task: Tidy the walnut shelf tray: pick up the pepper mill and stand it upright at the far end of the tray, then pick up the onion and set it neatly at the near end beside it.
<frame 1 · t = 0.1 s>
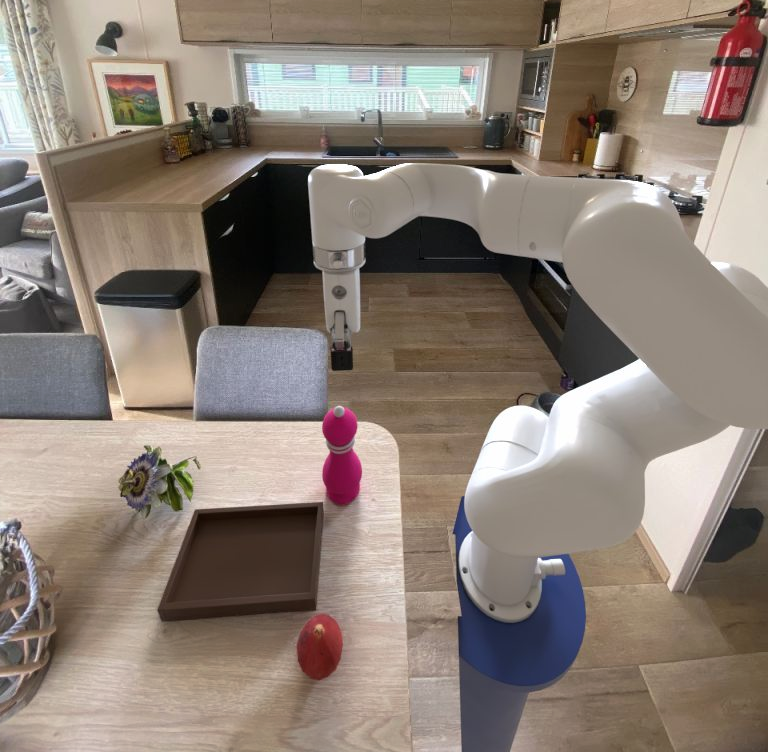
hand: (343, 348, 63), 30 cm above the table, tool pointing down, fingers open, 9 cm apart
passion flower: (163, 494, 71), on the table
onion: (321, 660, 51), on the table
pepper mill: (343, 489, 72), on the table
shelf tray: (251, 561, 61), on the table
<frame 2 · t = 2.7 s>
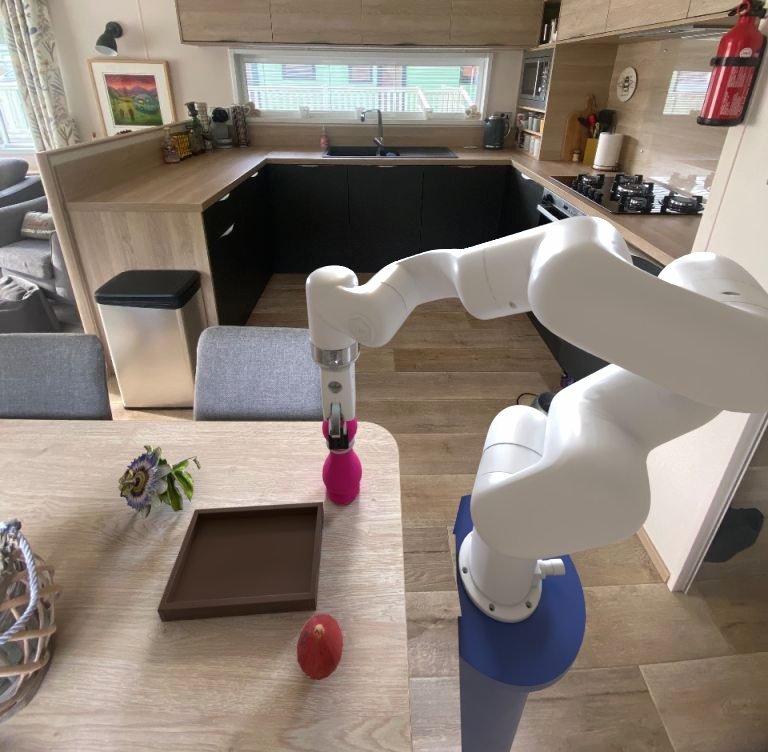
hand: (339, 429, 66), 15 cm above the table, tool pointing down, fingers closed on pepper mill, 6 cm apart
pepper mill: (343, 489, 72), on the table, touching gripper
everything else where it was.
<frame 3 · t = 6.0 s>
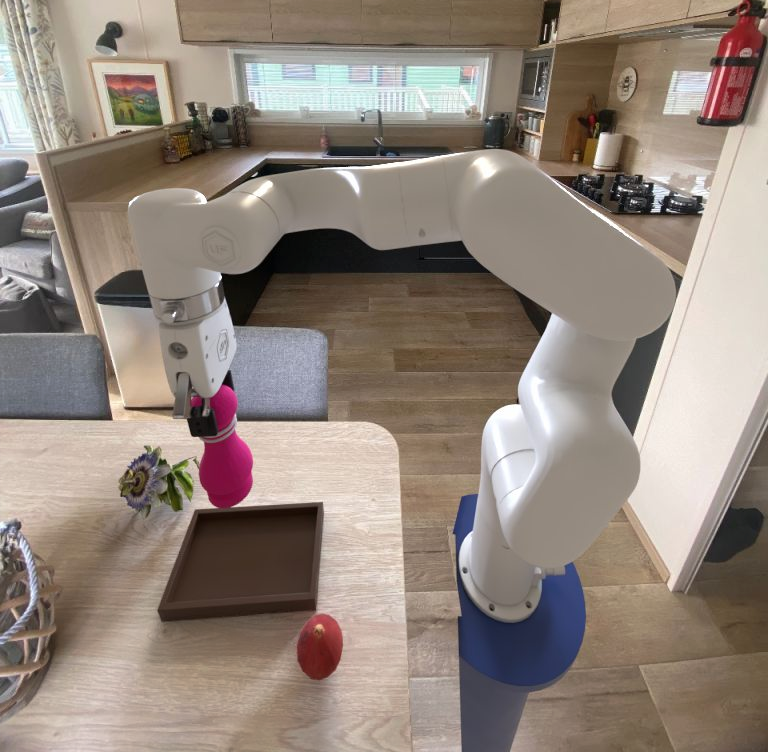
hand: (214, 412, 52), 29 cm above the table, tool pointing down, fingers closed on pepper mill, 6 cm apart
pepper mill: (231, 488, 58), point 14 cm above the table, touching gripper
everything else where it was.
when the fingers open (16 cm above the table, at t = 9.8 s): pepper mill stays where it is, resting on shelf tray.
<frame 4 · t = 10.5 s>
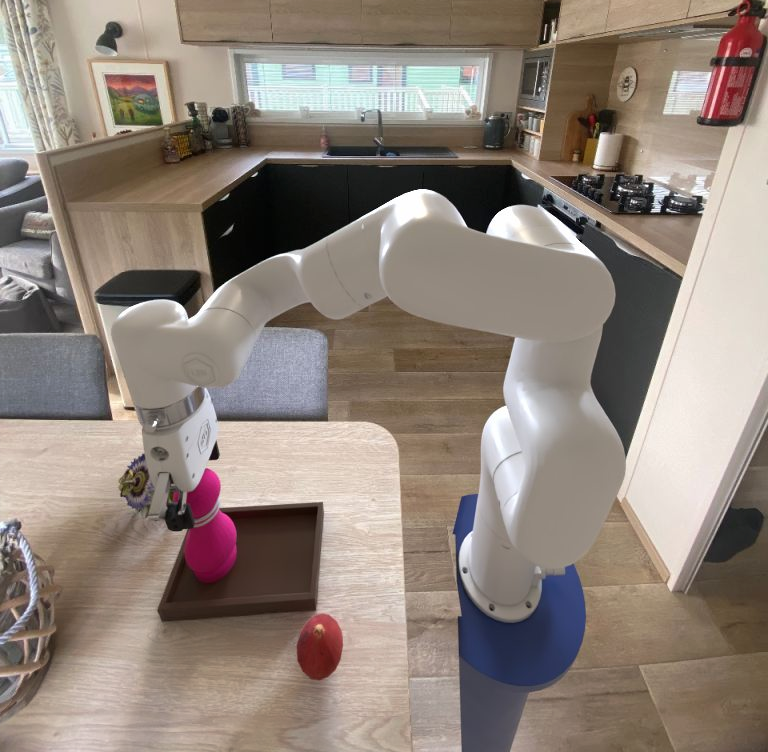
hand: (196, 490, 54), 17 cm above the table, tool pointing down, fingers open, 9 cm apart
pepper mill: (215, 560, 61), point 1 cm above the table, touching shelf tray
everything else where it was.
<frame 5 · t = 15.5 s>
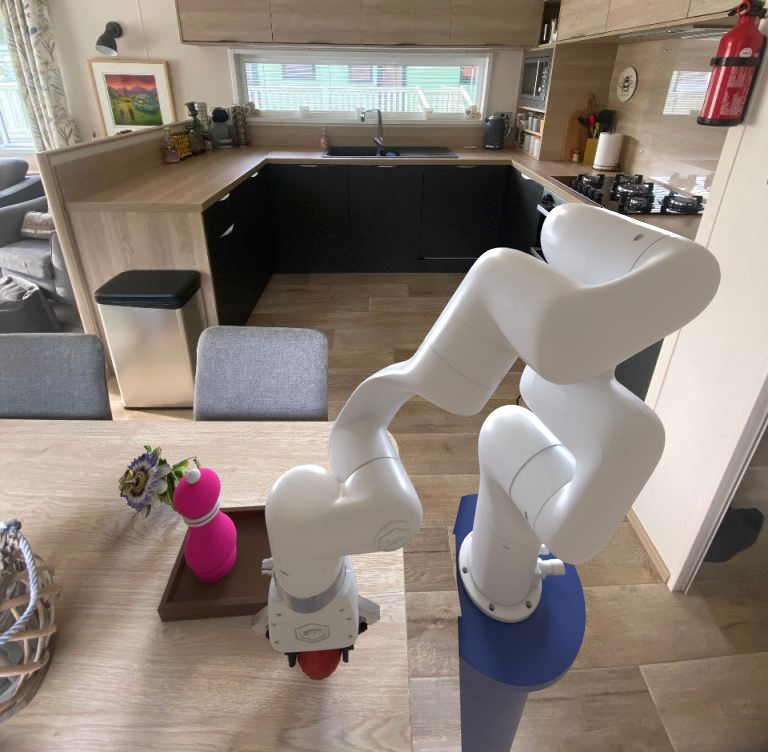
hand: (320, 648, 50), 3 cm above the table, tool pointing down, fingers closed on onion, 5 cm apart
onion: (321, 660, 51), on the table, touching gripper
everything else where it was.
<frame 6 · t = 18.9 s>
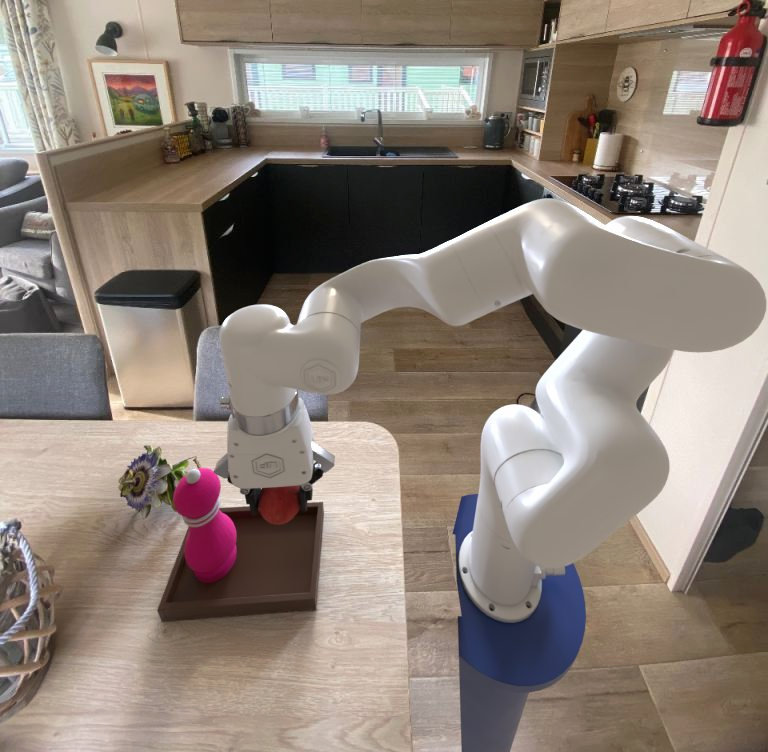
hand: (281, 501, 54), 17 cm above the table, tool pointing down, fingers closed on onion, 5 cm apart
onion: (283, 516, 55), point 13 cm above the table, touching gripper
everything else where it was.
when the fingers open (4 cm above the table, at t = 22.3 s): onion stays where it is, resting on shelf tray.
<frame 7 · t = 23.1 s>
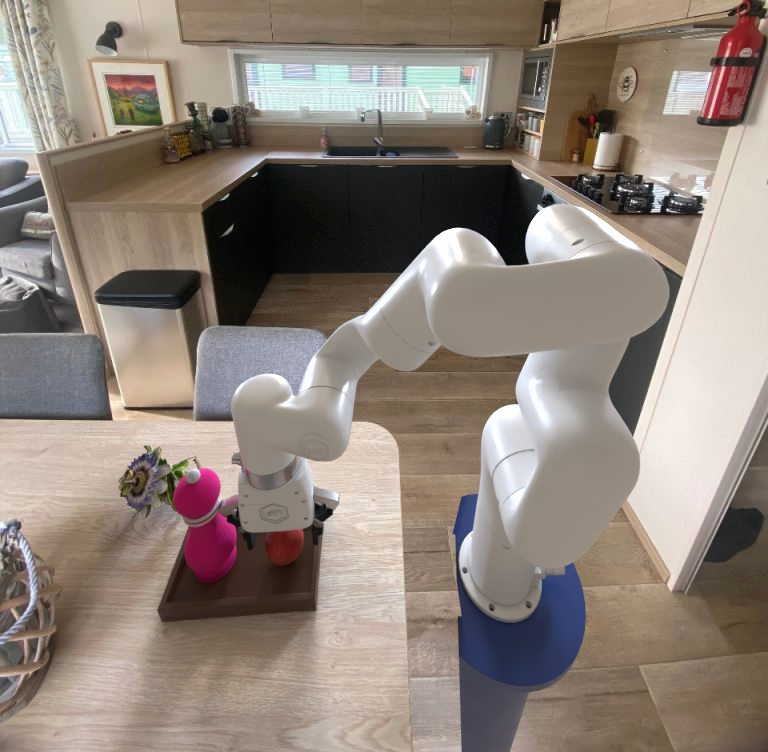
hand: (285, 537, 60), 6 cm above the table, tool pointing down, fingers open, 9 cm apart
onion: (286, 556, 61), point 1 cm above the table, touching shelf tray
everything else where it was.
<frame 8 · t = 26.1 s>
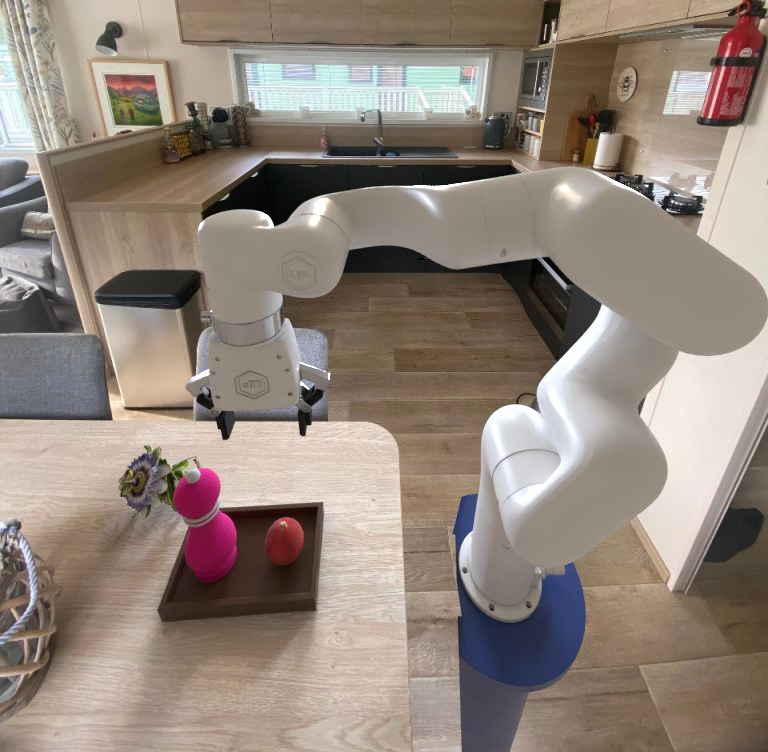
hand: (267, 428, 51), 28 cm above the table, tool pointing down, fingers open, 9 cm apart
nothing on the table moved.
at the end: pepper mill inside the target area in the shelf tray (0.3 cm from its centre), point 0.8 cm above the shelf tray's base; pepper mill tilted 0°; onion inside the target area in the shelf tray (0.2 cm from its centre), point 0.8 cm above the shelf tray's base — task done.
